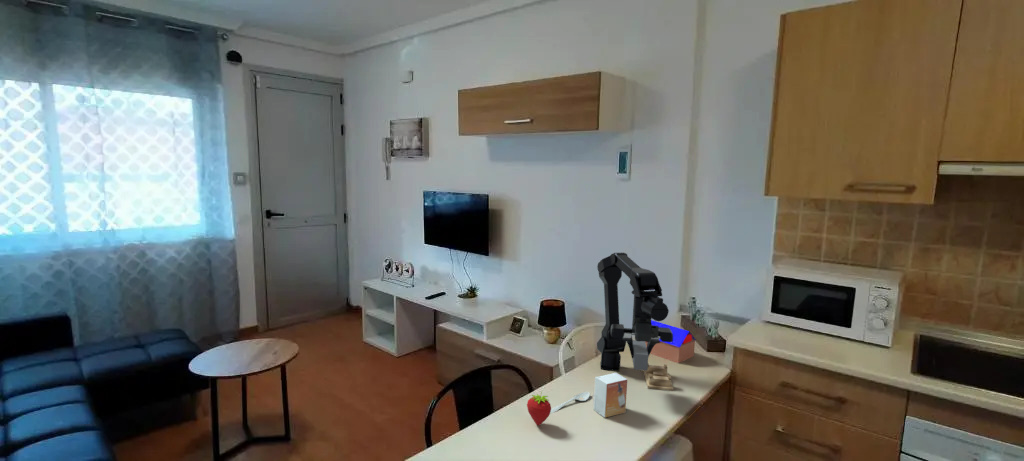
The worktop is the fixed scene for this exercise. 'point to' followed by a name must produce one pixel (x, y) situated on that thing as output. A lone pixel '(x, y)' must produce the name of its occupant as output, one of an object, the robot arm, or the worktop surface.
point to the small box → (610, 394)
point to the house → (674, 344)
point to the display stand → (658, 378)
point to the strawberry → (539, 408)
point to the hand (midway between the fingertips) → (639, 358)
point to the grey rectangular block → (640, 355)
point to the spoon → (583, 395)
